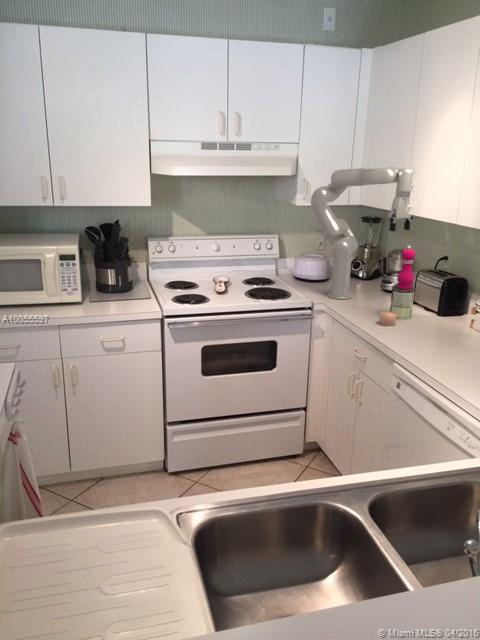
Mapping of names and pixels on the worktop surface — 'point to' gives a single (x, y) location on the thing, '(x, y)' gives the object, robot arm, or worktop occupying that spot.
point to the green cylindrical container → (402, 302)
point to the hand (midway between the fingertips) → (399, 230)
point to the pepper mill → (406, 269)
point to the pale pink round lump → (387, 318)
